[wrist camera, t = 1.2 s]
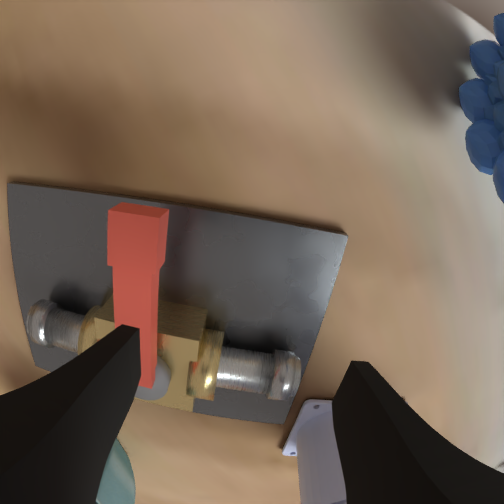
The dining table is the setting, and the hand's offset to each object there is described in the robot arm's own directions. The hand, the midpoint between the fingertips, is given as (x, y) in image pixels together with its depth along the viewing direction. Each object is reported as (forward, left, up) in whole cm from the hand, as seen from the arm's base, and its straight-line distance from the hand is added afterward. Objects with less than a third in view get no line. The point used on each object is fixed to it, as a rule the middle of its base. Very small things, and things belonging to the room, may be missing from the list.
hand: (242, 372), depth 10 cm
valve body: (+6, +5, -9) cm, 12 cm away
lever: (+5, +2, -6) cm, 8 cm away
